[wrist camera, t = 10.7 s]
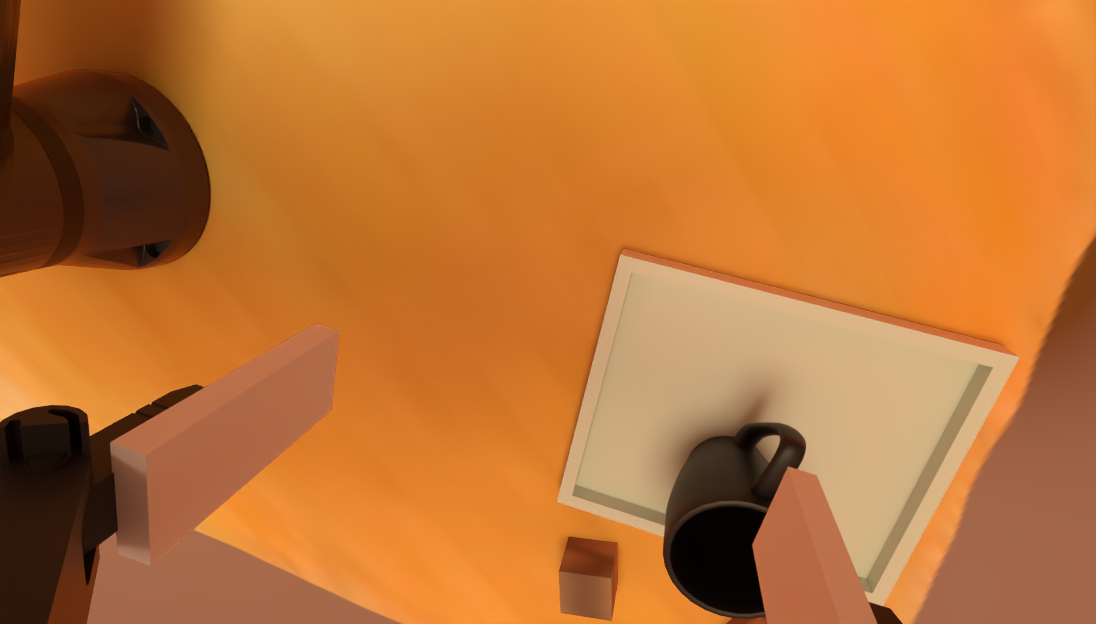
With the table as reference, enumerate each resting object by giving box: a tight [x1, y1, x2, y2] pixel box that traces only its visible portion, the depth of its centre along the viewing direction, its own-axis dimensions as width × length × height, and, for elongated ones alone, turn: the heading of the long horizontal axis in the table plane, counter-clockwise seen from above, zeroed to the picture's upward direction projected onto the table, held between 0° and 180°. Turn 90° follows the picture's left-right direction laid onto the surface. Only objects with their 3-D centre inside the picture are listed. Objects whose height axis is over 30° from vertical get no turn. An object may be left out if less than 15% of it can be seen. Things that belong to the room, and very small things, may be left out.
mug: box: [663, 422, 806, 619], centre depth 36 cm, size 8×12×10 cm
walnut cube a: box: [559, 537, 618, 621], centre depth 45 cm, size 4×4×4 cm
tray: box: [557, 249, 1020, 606], centre depth 39 cm, size 24×20×2 cm
